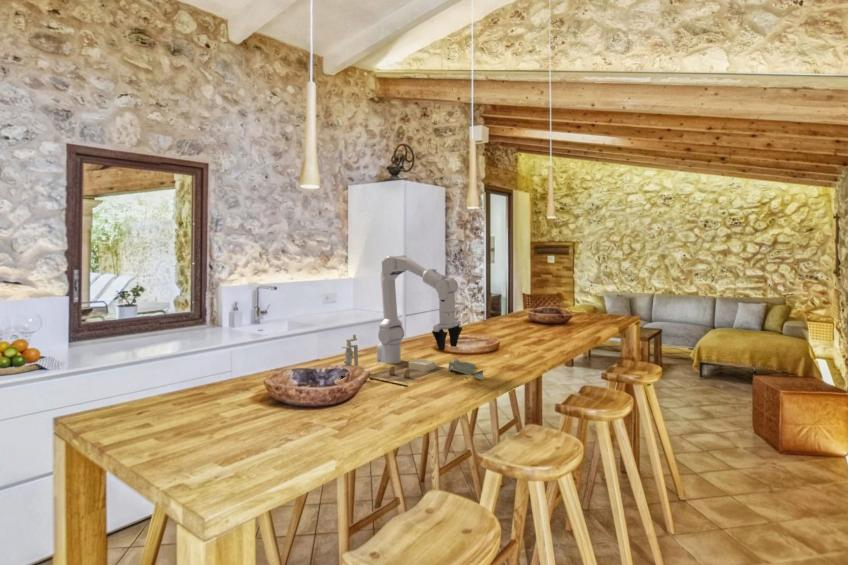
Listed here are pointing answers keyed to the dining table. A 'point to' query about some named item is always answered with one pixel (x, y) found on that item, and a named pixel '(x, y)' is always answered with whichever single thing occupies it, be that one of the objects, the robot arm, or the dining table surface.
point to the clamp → (351, 352)
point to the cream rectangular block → (422, 365)
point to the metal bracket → (465, 368)
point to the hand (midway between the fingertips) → (447, 348)
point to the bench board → (402, 374)
